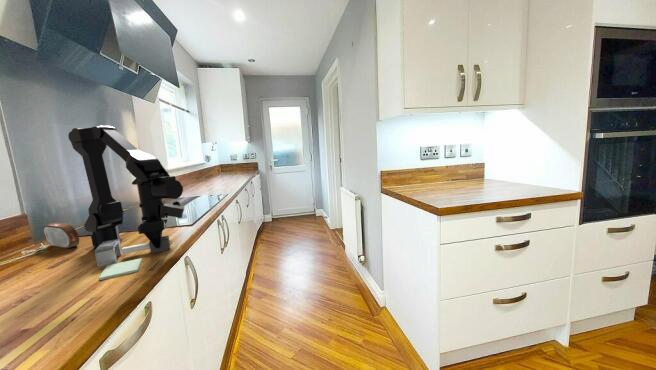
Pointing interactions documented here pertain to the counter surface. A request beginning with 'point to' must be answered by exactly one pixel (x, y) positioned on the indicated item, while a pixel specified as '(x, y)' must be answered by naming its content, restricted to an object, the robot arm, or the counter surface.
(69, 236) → the tin
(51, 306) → the counter surface
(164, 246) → the plug
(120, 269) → the mat
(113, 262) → the housing
